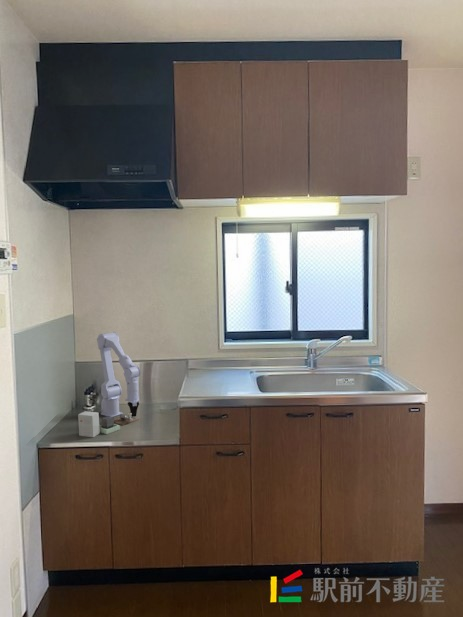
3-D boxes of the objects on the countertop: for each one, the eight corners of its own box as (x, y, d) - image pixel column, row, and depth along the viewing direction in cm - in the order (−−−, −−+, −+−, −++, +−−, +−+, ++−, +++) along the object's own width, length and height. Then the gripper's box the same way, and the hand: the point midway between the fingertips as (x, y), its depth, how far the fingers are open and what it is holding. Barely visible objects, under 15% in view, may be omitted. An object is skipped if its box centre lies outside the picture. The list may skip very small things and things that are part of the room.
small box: (100, 433, 245) (99, 412, 244) (93, 437, 239) (92, 415, 238) (85, 432, 247) (84, 410, 246) (78, 435, 242) (77, 414, 241)
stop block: (101, 430, 248) (101, 418, 248) (108, 427, 252) (108, 416, 251) (107, 431, 246) (106, 419, 245) (113, 429, 249) (113, 417, 249)
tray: (95, 431, 248) (95, 426, 248) (109, 426, 255) (109, 422, 254) (106, 434, 243) (106, 430, 243) (119, 429, 250) (119, 425, 249)
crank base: (108, 421, 263) (108, 419, 263) (124, 416, 271) (124, 413, 271) (122, 425, 256) (122, 423, 256) (138, 419, 265) (138, 417, 265)
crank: (118, 417, 263) (118, 410, 263) (124, 416, 266) (123, 409, 266) (128, 421, 258) (128, 413, 257) (134, 419, 260) (134, 412, 260)
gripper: (123, 387, 266) (124, 413, 267) (126, 394, 252) (127, 421, 253) (137, 386, 268) (138, 411, 269) (140, 393, 254) (141, 419, 255)
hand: (133, 416), depth 261 cm, fingers closed
